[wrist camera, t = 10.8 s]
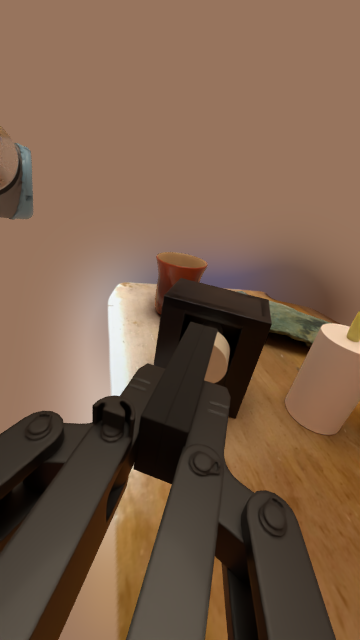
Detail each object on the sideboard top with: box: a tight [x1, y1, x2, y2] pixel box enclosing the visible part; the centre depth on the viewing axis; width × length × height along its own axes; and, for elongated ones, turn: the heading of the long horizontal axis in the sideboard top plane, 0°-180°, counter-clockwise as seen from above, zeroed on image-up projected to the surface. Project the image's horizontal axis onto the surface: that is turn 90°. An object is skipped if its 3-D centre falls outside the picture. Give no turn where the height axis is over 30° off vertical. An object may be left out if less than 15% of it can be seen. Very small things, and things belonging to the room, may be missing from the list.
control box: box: [154, 278, 272, 418], centre depth 28 cm, size 10×6×12 cm, turn 75°
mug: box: [155, 252, 207, 315], centre depth 46 cm, size 12×9×10 cm
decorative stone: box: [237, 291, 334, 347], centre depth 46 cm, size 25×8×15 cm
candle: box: [285, 311, 360, 435], centre depth 27 cm, size 6×6×15 cm
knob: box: [202, 321, 230, 383], centre depth 24 cm, size 5×6×5 cm
